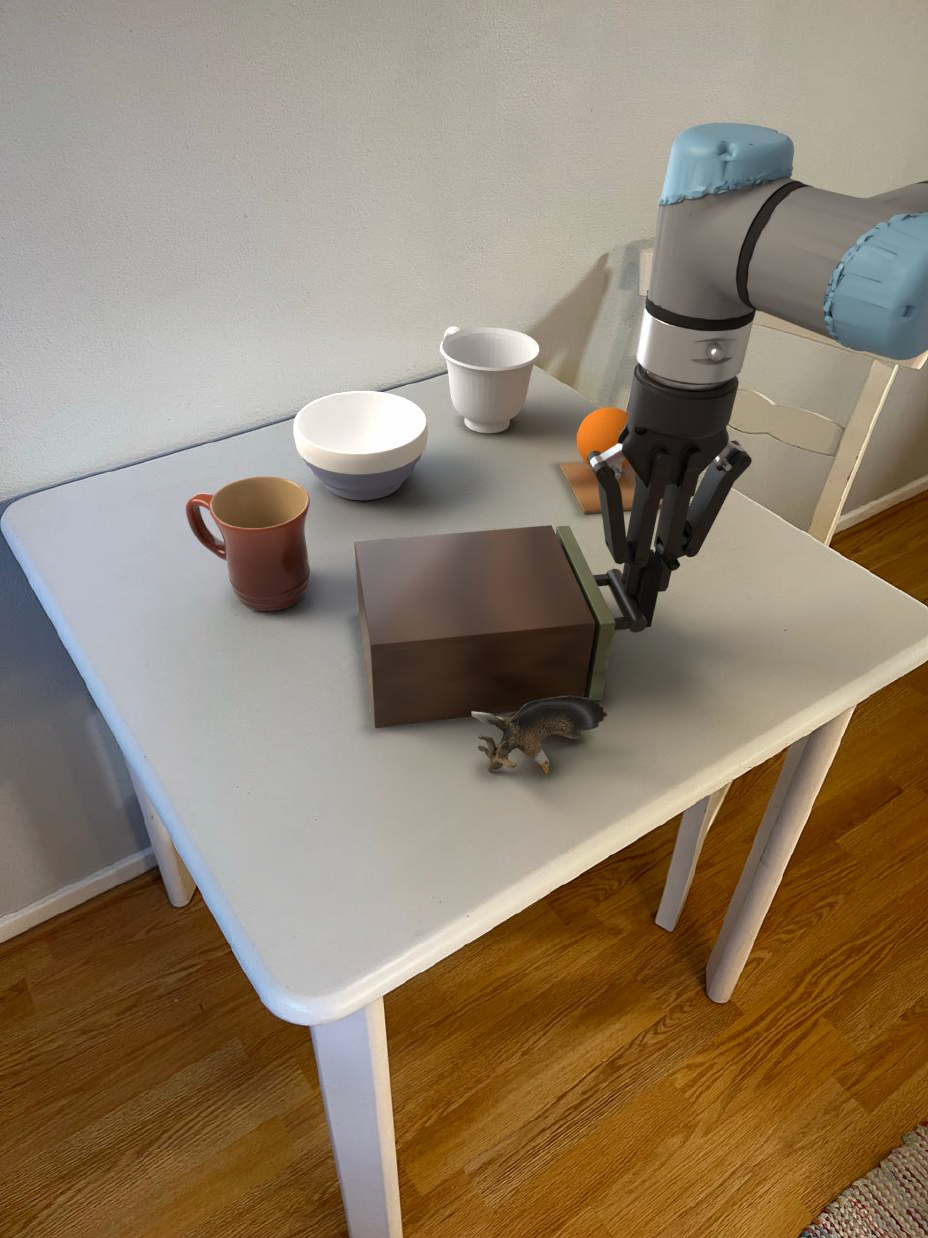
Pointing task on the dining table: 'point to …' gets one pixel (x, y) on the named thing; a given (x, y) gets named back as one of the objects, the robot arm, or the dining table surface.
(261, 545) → the mug
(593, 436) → the orange
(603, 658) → the drawer
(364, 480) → the bowl
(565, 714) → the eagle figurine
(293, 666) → the dining table surface
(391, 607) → the cabinet
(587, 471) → the coaster
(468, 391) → the teacup
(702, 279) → the robot arm
